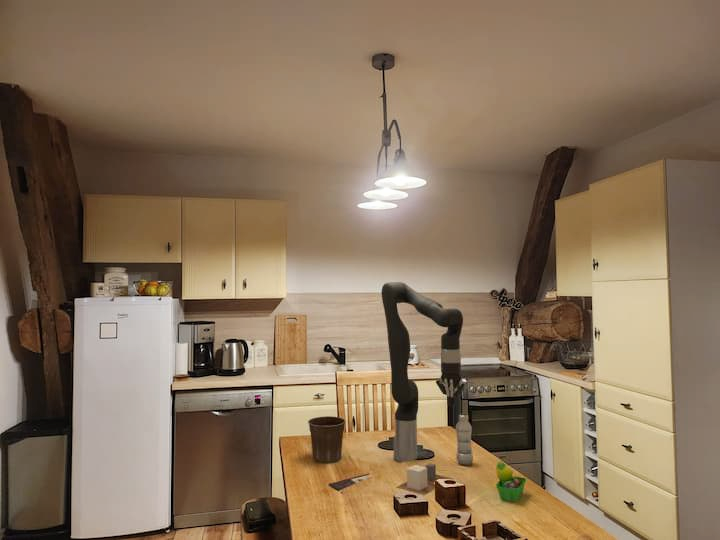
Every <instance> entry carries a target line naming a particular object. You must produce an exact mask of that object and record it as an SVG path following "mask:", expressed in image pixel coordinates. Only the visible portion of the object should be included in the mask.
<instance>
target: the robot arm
mask: <svg viewBox="0 0 720 540" xmlns="http://www.w3.org/2000/svg"><path fill="white" fill-rule="evenodd" d="M381 301H382V304H383V310H384V311H383V312H384V315H385V323H386V329H387V330H386V332H387V344H388V353H389V361H390V370H391V371H390V372H391V384H390V385H391V388H390V389H391V395H392V399H393V400H394V402H395V403H397V408H396V410H395V412H394V436H393V439H392V440H393V441H392V442H393V444H392V445H393V446H392V447H393V460H395V461H397V462H398V463H403V462H406V461H407V462H409V461H410V462H411V461H415V460H417V459H418V423H417V422H418V421H417V420H418V419H417V418H418V417H417V416H418V415H417V414H418V411H419V388H418V386H417V384H416V382H415V381H414V380H411V379H409V373H408V367H409V366H408V365H409V361H410V354H411V341H410V333H409V331H408V329H407V327H406V325H405V324H404V322H403V320H402V319H401V317H400V314H399V310H398V304H403V303H404V304H407V305H410V306H413V307H414V309H415V310H416V311H417V313H419V314H421V315H422V316H425V317H426V318H429V319H431V320H432V321H433V322H434V323H435V324H436V325H437V326H440V327H441V328H447V330H446V332H445V333H442V335H441V337H440V338H441V339H440V343H441V344H440V345H441V346H440V371H441V376H440V378H439V379H438V380H436V381H435V383H436V385H437V386H438V389H439V390H440V392H441V393H442V395H444V396H445V395H446V398H447V399H446V400H447V405H448V407H451V408H454V407H455V406H456V405H457V401H456V399H457V398H456V397H457V396H460V395H462V393H463V391H464V390H465V389H466V387H467V386H468V383H467V382H464V381H463V377H462V376H461V373H462V367H461V366H462V364H461V363H462V361H461V360H462V357H461V348H460V347H461V346H460V337H461V334H462V329H463V325H464V316H463V313H462V312H461V310H460V309H458V308H444V307H443V305H442V304H441V303H439V302H437V301H435V300H433V299H431V298H428V297H426V296H424V295H422V294H420V293H419V292H418V291H416V290H414V289H413V288H412V287H411V286H409V285H408V284H406V283H405V282H402V281H393V282H392V281H391V282H385V283H384V284H383V285H382V288H381ZM458 386H459V387H458Z"/></svg>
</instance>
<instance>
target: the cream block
mask: <svg viewBox="0 0 720 540" xmlns="http://www.w3.org/2000/svg"><path fill="white" fill-rule="evenodd" d="M406 482H407V488H411V489H415V490H418V491H420V490H422V489H424V488H426V487H427V468H426V466H422V465H417V464H414V465H411V466H410V467H408V468H406Z"/></svg>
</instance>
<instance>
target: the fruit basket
mask: <svg viewBox="0 0 720 540" xmlns="http://www.w3.org/2000/svg"><path fill="white" fill-rule="evenodd" d="M495 468H496V475H497V478H498V482H497V483H496V484H495V486H496V488H497V491H498V495H499V498H500V500H501V501H506V502H513V503H517V501H518V500H519V499H520V497H521V495H523V492H524V487H525V485H526V484H525V483H526V481H527V478H525V477H521V476H515V475H513V474H514V472H513V469H512V468H510V466H508V465H507V464H506V463H505V462H503V461H498V462H497V463H496V467H495Z"/></svg>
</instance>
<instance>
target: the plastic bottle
mask: <svg viewBox="0 0 720 540" xmlns="http://www.w3.org/2000/svg"><path fill="white" fill-rule="evenodd" d="M458 420H459V421H457V423H456V425H455V431H456V442H457V452H456V457H455V458H456V461H457V463H458V464H459V465H463V466H469V465H471V464H472V463H473V462H474V456H473V452H472V451H473V450H472V430H473V427H472V425H471V423H470V422H469V414H468V413H459V414H458Z"/></svg>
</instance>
